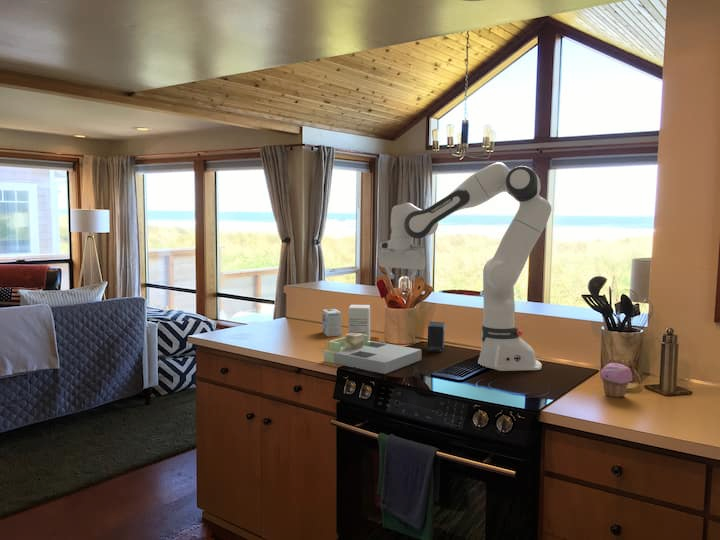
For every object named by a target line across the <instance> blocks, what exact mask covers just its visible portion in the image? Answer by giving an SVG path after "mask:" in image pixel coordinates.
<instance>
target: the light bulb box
mask: <svg viewBox="0 0 720 540" xmlns="http://www.w3.org/2000/svg"><path fill="white" fill-rule="evenodd" d="M321 313H322V324H321V325H322V326H321V327H322V329H321V330H322V333H323V334H324V335H325V336H327V337H341V336H342V314H343V313H342V312H341V311H340V310H338V309H337V308H330V309H329V308H327V309H322V312H321Z"/></svg>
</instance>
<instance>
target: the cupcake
mask: <svg viewBox="0 0 720 540" xmlns="http://www.w3.org/2000/svg"><path fill="white" fill-rule="evenodd" d="M599 375H600V378H601V379H602V382H603V392H604V394H605V395H606V396H607V397H611V398H621V397H623V396H626V393H627V390H628V385H629V383H630V382H631V381H632V380H633V373H632V370H631V369H630V368H629V367H628V366H626V365H624V364H622V363H617V362H610V363H607V364H606V365H605V366H603V368H602V369H601V370H600V374H599Z"/></svg>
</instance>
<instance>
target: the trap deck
mask: <svg viewBox="0 0 720 540" xmlns="http://www.w3.org/2000/svg"><path fill="white" fill-rule="evenodd" d="M420 361H422V349H420V348H413V347H408V346H403V345H396V344H391V343H385V342H378V341H372V340H369V341H368V335H364V334H363V347H362V348H358V349H350V348H345V336H344V337H340V338H337V339H331V340H330V341H328V349H325V350H323V362H326V363H331V364H335V365H340V366H344V367H349V368H354V367H355V369H358V368H359V369H360V370H364V371H368V372H373V373H379V374H384V375H386V374H389V373H392V372H393V371H396V370H399V369H402V368H404V367H407V366H410V365H411V364H412V365H413V364H414V363H417V362H420Z"/></svg>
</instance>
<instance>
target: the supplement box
mask: <svg viewBox="0 0 720 540" xmlns="http://www.w3.org/2000/svg"><path fill="white" fill-rule="evenodd" d="M349 333H359V334H364V335H368V341H371V340H370V339H371V305H370V304H350V306H348V334H349Z"/></svg>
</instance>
